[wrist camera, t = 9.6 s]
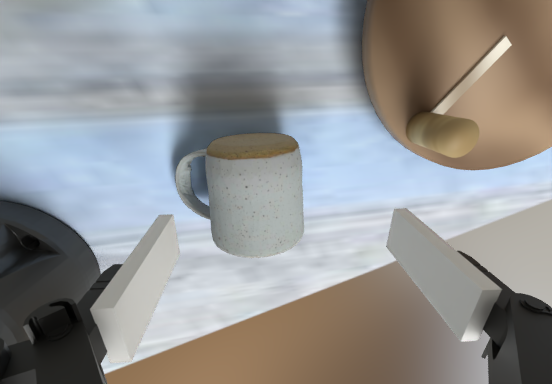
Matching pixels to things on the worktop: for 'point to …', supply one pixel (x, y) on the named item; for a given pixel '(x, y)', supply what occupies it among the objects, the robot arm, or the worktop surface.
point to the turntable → (462, 77)
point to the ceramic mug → (249, 193)
